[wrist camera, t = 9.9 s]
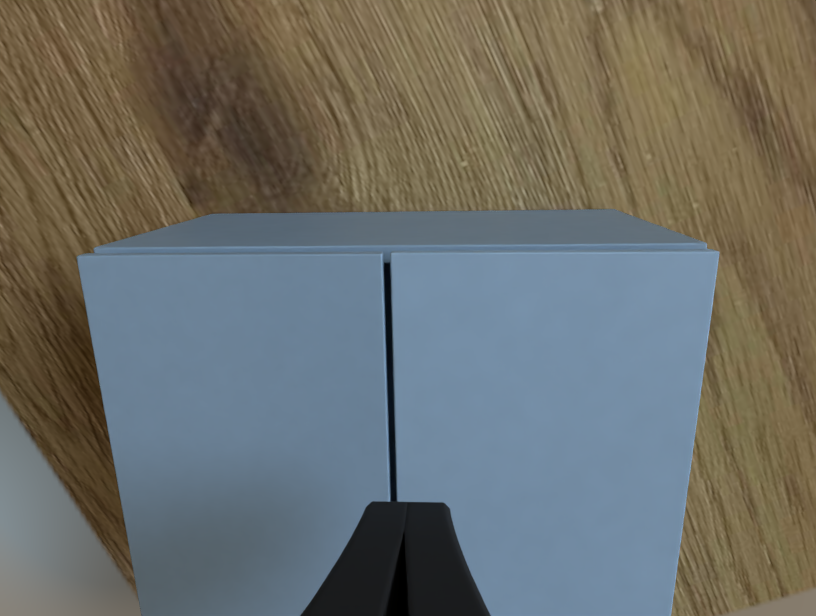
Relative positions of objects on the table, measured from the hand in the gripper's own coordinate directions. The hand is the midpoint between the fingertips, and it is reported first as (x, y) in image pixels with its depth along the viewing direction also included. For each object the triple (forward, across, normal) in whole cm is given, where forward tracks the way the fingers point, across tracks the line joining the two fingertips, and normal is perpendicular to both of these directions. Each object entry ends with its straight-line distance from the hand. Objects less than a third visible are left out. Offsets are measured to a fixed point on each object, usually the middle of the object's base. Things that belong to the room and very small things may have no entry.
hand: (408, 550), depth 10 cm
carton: (+10, 0, +1) cm, 10 cm away
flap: (+3, -3, +1) cm, 4 cm away
